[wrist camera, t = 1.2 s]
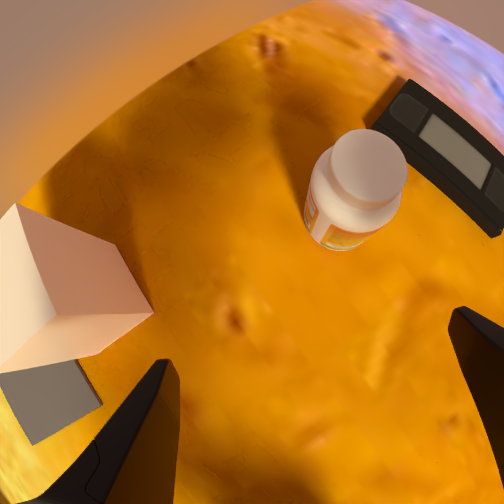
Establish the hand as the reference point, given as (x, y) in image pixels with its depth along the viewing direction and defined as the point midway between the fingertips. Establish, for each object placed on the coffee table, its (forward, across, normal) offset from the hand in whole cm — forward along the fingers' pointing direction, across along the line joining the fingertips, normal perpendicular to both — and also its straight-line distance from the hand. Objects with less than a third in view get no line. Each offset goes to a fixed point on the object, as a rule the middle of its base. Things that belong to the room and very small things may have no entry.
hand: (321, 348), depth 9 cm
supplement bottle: (+16, -5, +4) cm, 17 cm away
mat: (+9, +25, +11) cm, 29 cm away
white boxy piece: (+13, +15, +6) cm, 21 cm away
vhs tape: (+18, -17, +1) cm, 25 cm away
